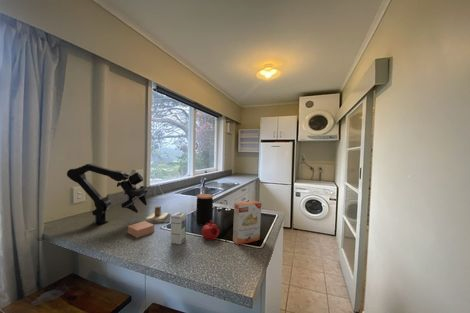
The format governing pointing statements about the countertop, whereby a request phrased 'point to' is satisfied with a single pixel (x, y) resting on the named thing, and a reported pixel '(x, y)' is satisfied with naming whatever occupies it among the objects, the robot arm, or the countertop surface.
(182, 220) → the syrup box
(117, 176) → the robot arm
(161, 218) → the lid
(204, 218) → the coffee jar
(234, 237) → the cracker box
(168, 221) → the mat
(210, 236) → the pomegranate
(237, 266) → the countertop surface
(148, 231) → the storage box
